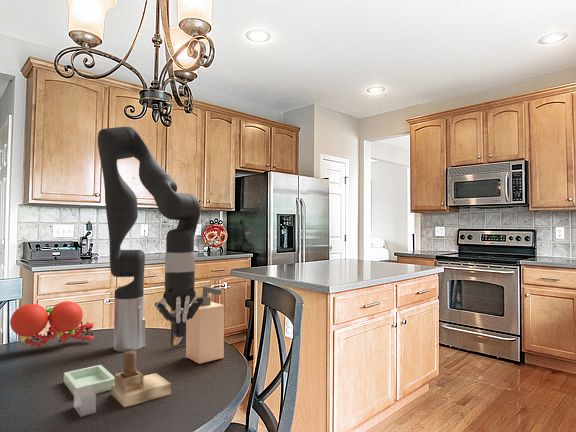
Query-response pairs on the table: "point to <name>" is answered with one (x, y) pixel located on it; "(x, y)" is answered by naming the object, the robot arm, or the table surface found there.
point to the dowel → (129, 363)
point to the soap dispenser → (206, 330)
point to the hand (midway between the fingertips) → (179, 336)
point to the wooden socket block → (139, 388)
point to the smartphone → (176, 338)
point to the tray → (89, 379)
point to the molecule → (50, 322)
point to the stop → (84, 401)
